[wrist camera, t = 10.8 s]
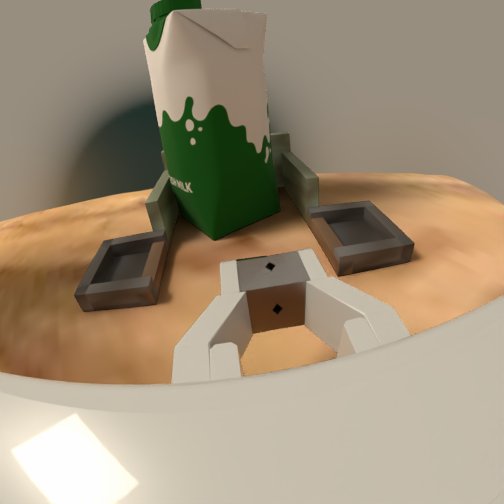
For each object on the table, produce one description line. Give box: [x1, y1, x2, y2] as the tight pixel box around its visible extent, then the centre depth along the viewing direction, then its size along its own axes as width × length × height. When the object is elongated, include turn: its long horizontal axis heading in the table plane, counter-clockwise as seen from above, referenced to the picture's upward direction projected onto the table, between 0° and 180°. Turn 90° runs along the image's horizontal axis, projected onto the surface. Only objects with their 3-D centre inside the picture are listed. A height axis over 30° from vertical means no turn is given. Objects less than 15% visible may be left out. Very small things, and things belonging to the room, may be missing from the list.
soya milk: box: [143, 0, 281, 240], centre depth 20 cm, size 9×9×20 cm
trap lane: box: [74, 132, 415, 311], centre depth 22 cm, size 23×17×6 cm
